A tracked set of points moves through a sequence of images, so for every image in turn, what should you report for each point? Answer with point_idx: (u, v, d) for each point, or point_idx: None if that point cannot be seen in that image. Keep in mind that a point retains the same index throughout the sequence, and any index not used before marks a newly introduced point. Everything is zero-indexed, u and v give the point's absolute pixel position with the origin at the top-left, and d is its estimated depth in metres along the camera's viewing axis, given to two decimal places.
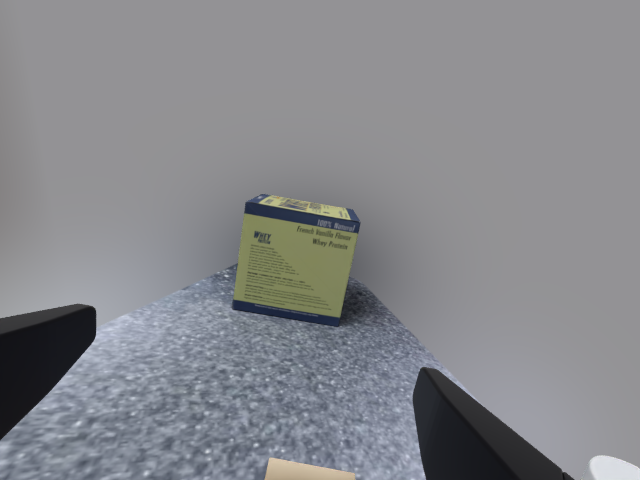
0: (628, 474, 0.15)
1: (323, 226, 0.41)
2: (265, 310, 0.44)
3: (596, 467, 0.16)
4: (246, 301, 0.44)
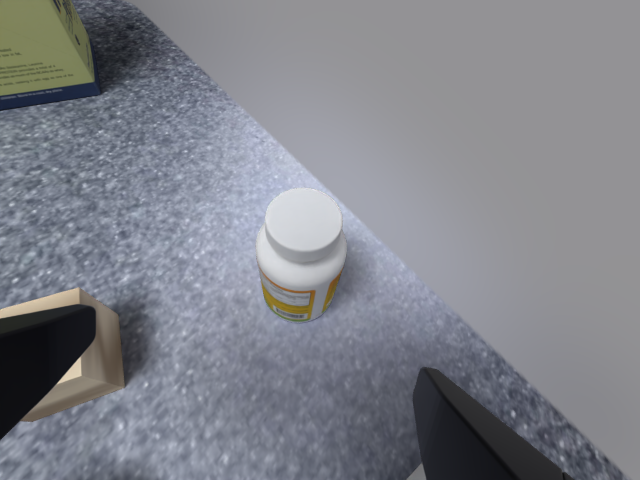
0: (301, 201, 0.16)
1: None
2: None
3: (271, 208, 0.16)
4: None
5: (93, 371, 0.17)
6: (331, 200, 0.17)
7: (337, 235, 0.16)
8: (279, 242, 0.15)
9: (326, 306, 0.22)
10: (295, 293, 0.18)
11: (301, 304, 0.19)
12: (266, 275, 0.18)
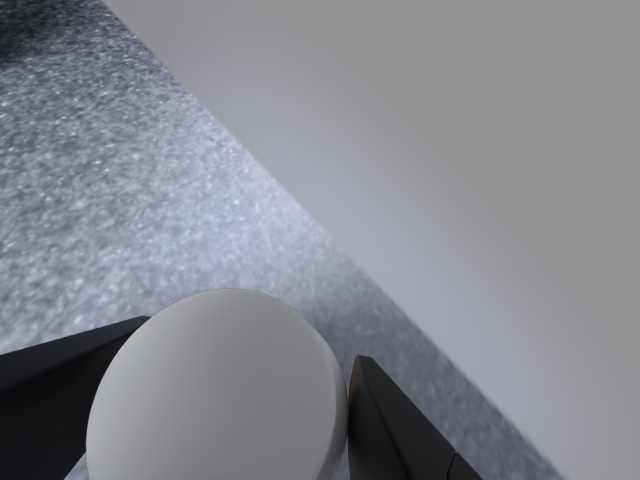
0: (215, 339, 0.06)
1: None
2: None
3: (120, 369, 0.05)
4: None
5: None
6: (304, 330, 0.06)
7: (319, 471, 0.05)
8: None
9: None
10: None
11: None
12: None
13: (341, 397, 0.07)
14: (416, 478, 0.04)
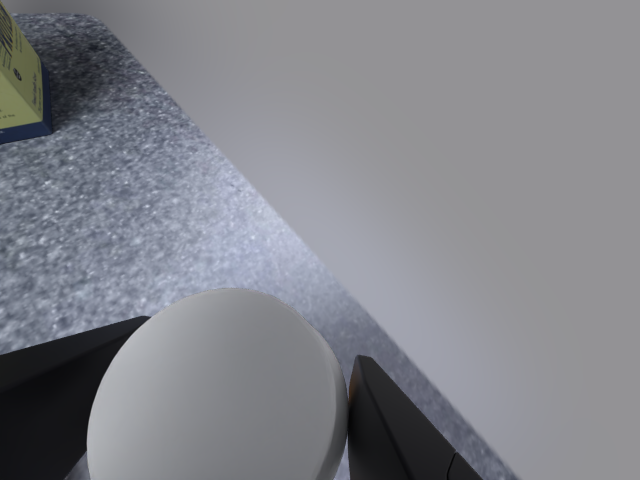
0: (215, 338, 0.06)
1: None
2: None
3: (120, 369, 0.05)
4: None
5: None
6: (304, 330, 0.06)
7: (318, 470, 0.05)
8: None
9: None
10: None
11: None
12: None
13: (341, 396, 0.07)
14: (416, 478, 0.04)
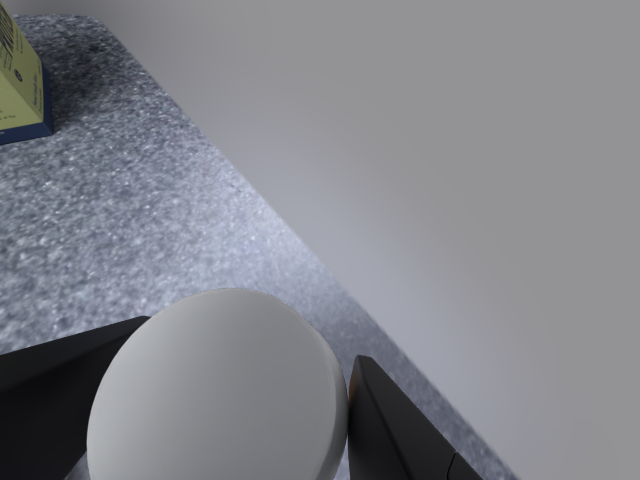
0: (215, 338, 0.06)
1: None
2: None
3: (120, 369, 0.05)
4: None
5: None
6: (304, 330, 0.06)
7: (318, 470, 0.05)
8: None
9: None
10: None
11: None
12: None
13: (341, 396, 0.07)
14: (416, 478, 0.04)
